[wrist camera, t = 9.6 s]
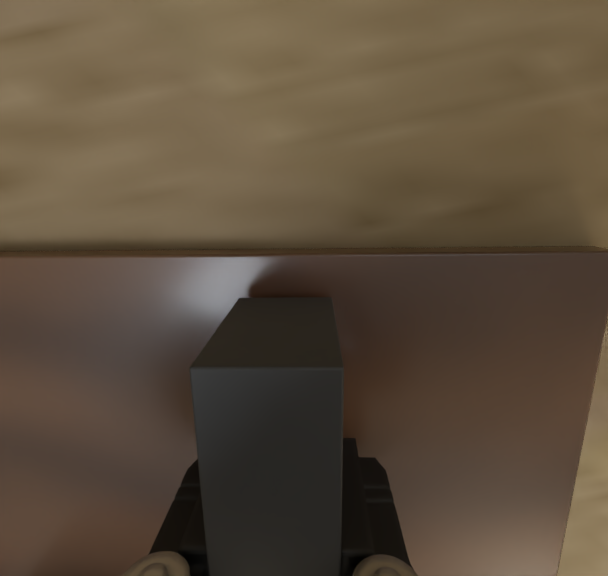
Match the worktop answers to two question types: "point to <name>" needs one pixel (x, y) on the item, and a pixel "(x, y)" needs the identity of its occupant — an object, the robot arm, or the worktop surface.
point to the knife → (271, 439)
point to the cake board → (357, 392)
